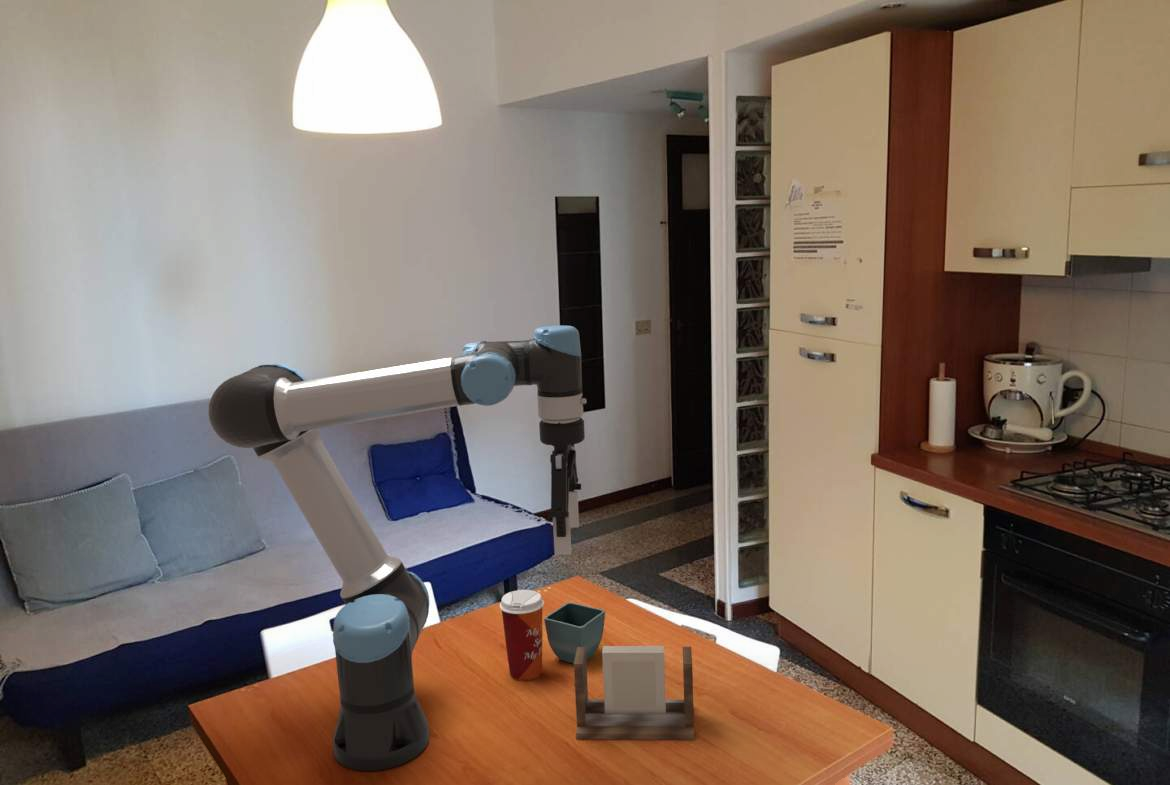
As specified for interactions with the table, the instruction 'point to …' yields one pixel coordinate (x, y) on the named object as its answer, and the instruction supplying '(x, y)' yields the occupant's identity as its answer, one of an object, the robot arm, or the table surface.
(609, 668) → the door panel
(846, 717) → the table surface
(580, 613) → the flower pot
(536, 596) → the coffee cup
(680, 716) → the track
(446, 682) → the table surface
